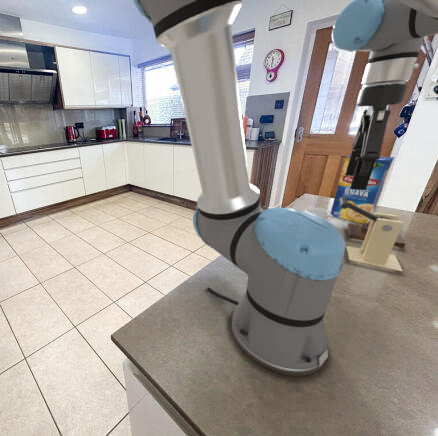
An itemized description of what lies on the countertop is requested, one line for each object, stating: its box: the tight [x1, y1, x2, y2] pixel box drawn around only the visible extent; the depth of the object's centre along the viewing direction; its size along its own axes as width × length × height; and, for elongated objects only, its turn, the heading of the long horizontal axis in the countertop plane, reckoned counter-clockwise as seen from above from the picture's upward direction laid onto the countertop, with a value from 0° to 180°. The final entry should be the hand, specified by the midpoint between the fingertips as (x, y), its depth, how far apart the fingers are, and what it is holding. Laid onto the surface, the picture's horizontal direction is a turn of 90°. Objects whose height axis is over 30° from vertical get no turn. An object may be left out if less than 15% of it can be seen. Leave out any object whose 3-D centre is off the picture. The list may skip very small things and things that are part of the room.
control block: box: [346, 222, 406, 248], centre depth 72 cm, size 12×9×4 cm
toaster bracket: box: [346, 211, 404, 272], centre depth 60 cm, size 10×8×13 cm
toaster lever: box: [340, 197, 390, 222], centre depth 59 cm, size 12×6×2 cm, turn 57°
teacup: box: [303, 207, 334, 223], centre depth 83 cm, size 10×10×5 cm
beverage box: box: [330, 154, 395, 224], centre depth 83 cm, size 7×11×22 cm, turn 37°
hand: (354, 181), depth 59 cm, fingers open, 13 cm apart
